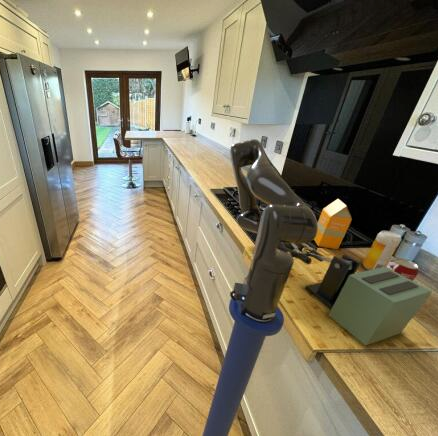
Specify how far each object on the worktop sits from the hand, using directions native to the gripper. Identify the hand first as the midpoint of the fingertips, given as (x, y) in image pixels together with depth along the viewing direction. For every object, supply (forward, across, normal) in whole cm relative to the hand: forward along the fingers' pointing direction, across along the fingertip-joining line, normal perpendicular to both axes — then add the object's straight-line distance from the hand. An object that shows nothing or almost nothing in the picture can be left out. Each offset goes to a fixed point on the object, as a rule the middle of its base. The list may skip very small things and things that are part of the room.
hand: (316, 260), depth 78 cm
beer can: (0, +32, +9) cm, 33 cm away
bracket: (+7, 0, +9) cm, 12 cm away
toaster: (+18, 0, +9) cm, 20 cm away
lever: (+3, 0, -1) cm, 3 cm away
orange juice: (-18, +31, +9) cm, 37 cm away
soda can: (+11, +22, +9) cm, 26 cm away
